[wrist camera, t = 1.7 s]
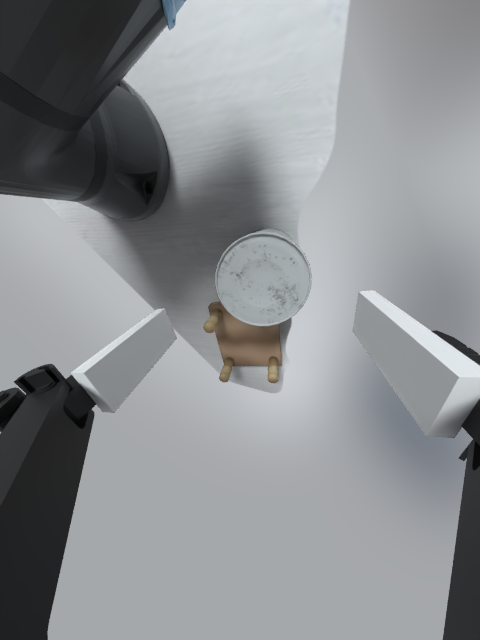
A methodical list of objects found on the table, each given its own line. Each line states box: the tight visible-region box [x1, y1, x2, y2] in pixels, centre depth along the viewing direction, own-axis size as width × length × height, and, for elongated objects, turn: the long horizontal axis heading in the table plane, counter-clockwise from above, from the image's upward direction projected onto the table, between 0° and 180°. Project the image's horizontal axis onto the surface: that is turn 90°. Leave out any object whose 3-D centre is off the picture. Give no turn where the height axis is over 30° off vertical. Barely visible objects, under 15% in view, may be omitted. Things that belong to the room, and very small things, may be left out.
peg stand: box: [203, 302, 282, 383], centre depth 32 cm, size 14×12×7 cm
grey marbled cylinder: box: [215, 228, 312, 326], centre depth 23 cm, size 10×10×12 cm
